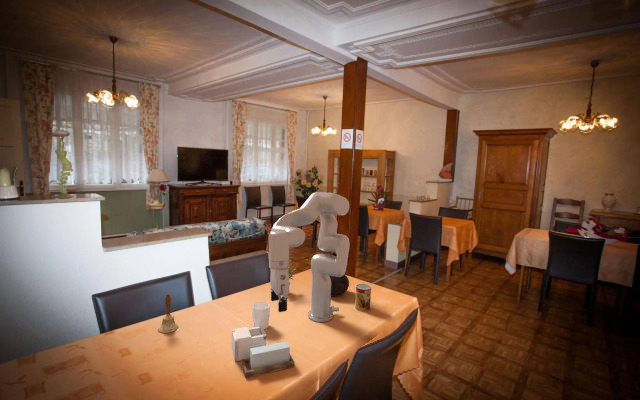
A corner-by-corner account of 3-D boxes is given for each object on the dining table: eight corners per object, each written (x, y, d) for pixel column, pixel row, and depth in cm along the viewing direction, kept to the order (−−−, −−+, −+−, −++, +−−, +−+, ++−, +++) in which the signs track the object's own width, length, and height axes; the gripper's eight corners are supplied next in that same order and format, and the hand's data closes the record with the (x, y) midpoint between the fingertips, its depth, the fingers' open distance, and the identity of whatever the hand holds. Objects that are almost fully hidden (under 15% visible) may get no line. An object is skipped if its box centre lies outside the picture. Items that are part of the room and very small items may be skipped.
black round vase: (320, 286, 195) (322, 242, 192) (349, 288, 193) (351, 244, 190) (316, 297, 178) (318, 249, 175) (347, 300, 175) (350, 252, 172)
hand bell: (182, 326, 141) (182, 292, 140) (166, 335, 134) (166, 299, 132) (169, 322, 145) (169, 288, 143) (153, 330, 137) (152, 295, 135)
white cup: (265, 331, 139) (266, 310, 138) (249, 329, 141) (249, 308, 140) (272, 323, 147) (272, 303, 146) (256, 321, 148) (256, 301, 147)
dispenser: (261, 344, 129) (262, 324, 128) (266, 355, 122) (266, 333, 121) (231, 350, 125) (232, 329, 124) (234, 361, 117) (235, 339, 116)
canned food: (368, 312, 162) (369, 290, 160) (353, 309, 164) (354, 287, 163) (371, 306, 169) (372, 285, 168) (356, 303, 172) (357, 282, 170)
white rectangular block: (286, 356, 121) (286, 341, 120) (289, 362, 117) (289, 346, 116) (249, 363, 115) (250, 348, 114) (252, 370, 111) (252, 354, 111)
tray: (287, 354, 123) (287, 349, 123) (294, 366, 116) (294, 361, 116) (241, 364, 116) (241, 359, 116) (245, 377, 109) (245, 372, 108)
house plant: (295, 299, 174) (296, 271, 172) (270, 298, 174) (271, 270, 173) (297, 289, 188) (298, 263, 187) (274, 288, 188) (275, 262, 187)
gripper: (296, 269, 112) (295, 314, 114) (281, 255, 128) (281, 295, 130) (276, 271, 109) (275, 317, 111) (263, 257, 125) (263, 298, 127)
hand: (278, 305), depth 121 cm, fingers open, 9 cm apart
